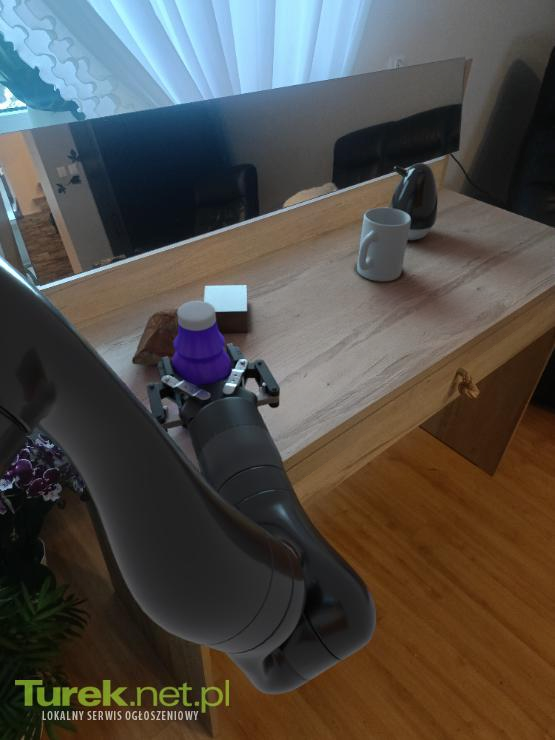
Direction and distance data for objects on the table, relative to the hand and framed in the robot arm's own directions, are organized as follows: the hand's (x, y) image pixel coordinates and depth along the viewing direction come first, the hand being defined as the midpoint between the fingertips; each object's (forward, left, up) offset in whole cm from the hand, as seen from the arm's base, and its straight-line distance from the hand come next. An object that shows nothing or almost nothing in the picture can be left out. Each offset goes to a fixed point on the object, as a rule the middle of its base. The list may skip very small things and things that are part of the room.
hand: (197, 356), depth 60 cm
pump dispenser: (+42, +53, -10) cm, 68 cm away
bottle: (+1, -2, -10) cm, 10 cm away
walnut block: (+3, +22, -10) cm, 24 cm away
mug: (+31, +36, -10) cm, 48 cm away
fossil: (-6, +13, -10) cm, 17 cm away
